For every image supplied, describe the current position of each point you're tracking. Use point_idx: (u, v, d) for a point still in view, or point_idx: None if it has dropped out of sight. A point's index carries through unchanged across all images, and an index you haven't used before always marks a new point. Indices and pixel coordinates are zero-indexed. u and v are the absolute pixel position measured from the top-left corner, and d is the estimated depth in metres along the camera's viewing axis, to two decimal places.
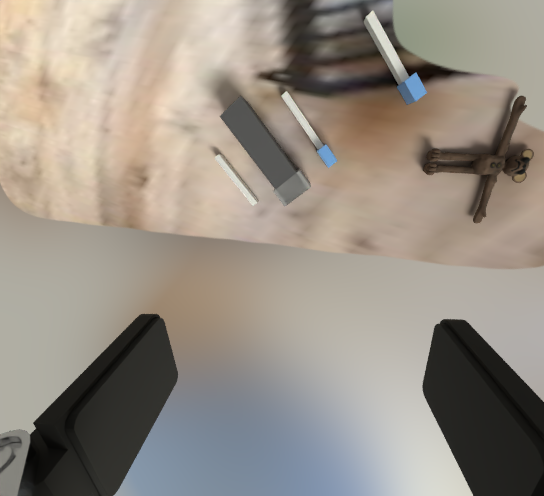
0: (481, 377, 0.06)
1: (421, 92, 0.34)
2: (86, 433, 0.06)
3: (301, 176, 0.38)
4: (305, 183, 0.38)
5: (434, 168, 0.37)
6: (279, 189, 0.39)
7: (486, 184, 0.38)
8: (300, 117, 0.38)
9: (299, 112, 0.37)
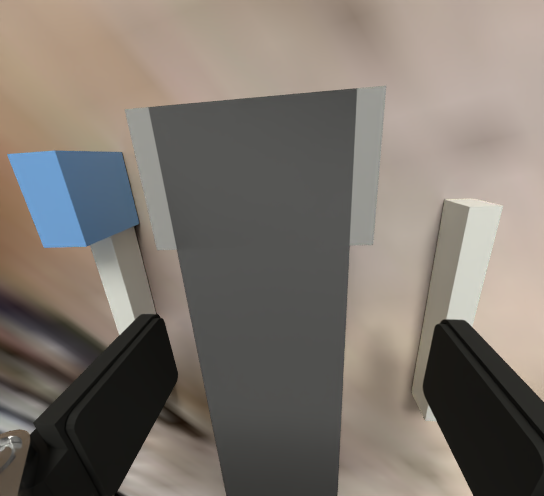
0: (481, 377, 0.06)
1: None
2: (86, 433, 0.06)
3: (157, 213, 0.06)
4: (151, 157, 0.05)
5: None
6: (325, 227, 0.05)
7: None
8: None
9: None
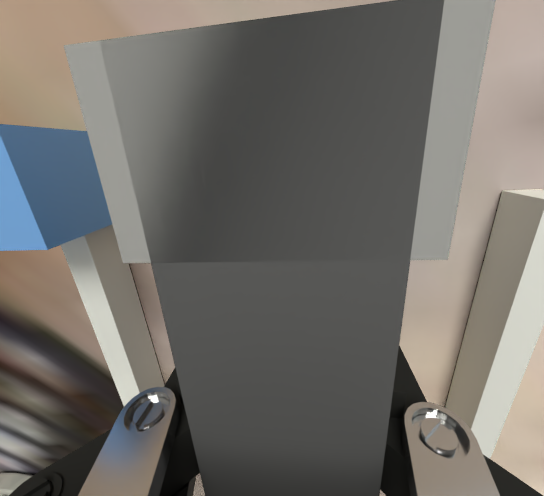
0: None
1: None
2: None
3: (122, 210, 0.04)
4: (108, 123, 0.03)
5: None
6: (375, 231, 0.04)
7: None
8: (117, 361, 0.10)
9: (115, 372, 0.10)
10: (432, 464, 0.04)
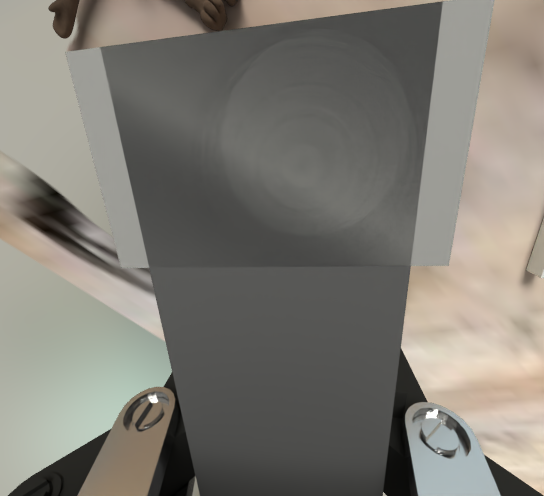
0: None
1: None
2: None
3: (120, 214, 0.04)
4: (107, 128, 0.03)
5: None
6: (375, 237, 0.03)
7: None
8: None
9: None
10: (433, 464, 0.04)
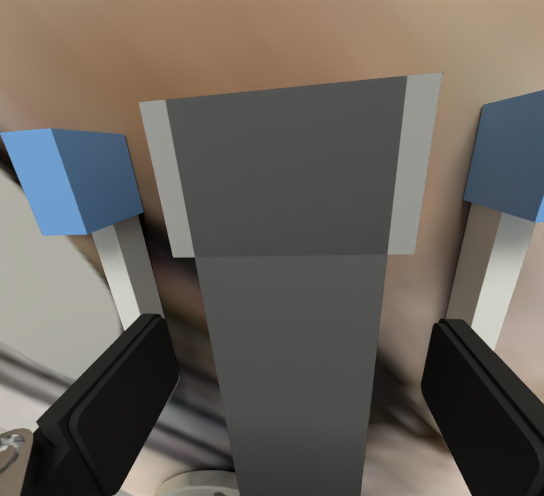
0: (479, 376, 0.06)
1: (23, 149, 0.07)
2: (88, 432, 0.06)
3: (174, 218, 0.05)
4: (167, 156, 0.05)
5: None
6: (361, 234, 0.05)
7: None
8: None
9: None
10: None
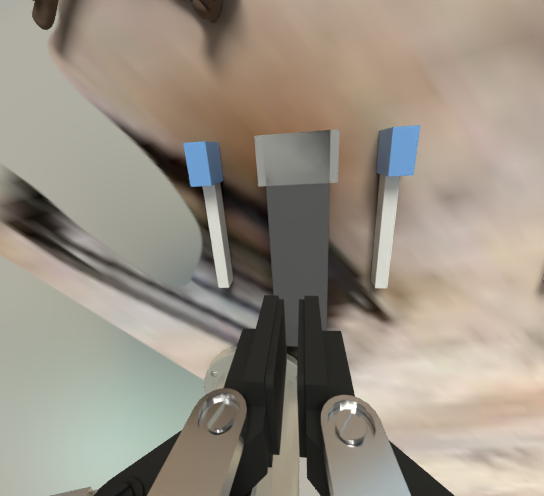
0: (300, 335, 0.07)
1: (191, 149, 0.18)
2: (274, 393, 0.06)
3: (260, 172, 0.16)
4: (261, 151, 0.15)
5: None
6: (321, 176, 0.15)
7: None
8: (385, 243, 0.20)
9: (381, 251, 0.20)
10: (346, 458, 0.04)
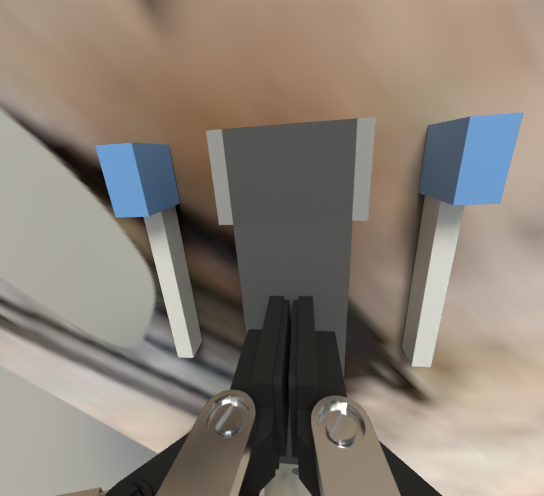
0: (293, 335, 0.07)
1: (110, 156, 0.10)
2: (282, 395, 0.06)
3: (222, 199, 0.08)
4: (220, 161, 0.08)
5: None
6: (336, 208, 0.08)
7: None
8: (432, 304, 0.13)
9: (424, 315, 0.13)
10: (336, 459, 0.04)
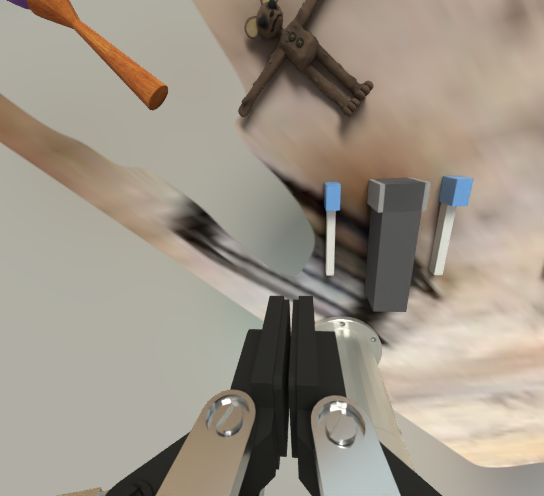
0: (293, 335, 0.07)
1: (331, 189, 0.29)
2: (282, 395, 0.06)
3: (380, 204, 0.27)
4: (383, 193, 0.27)
5: (364, 89, 0.26)
6: (417, 207, 0.27)
7: (311, 12, 0.25)
8: (443, 246, 0.32)
9: (440, 250, 0.32)
10: (336, 459, 0.04)
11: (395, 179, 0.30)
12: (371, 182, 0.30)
